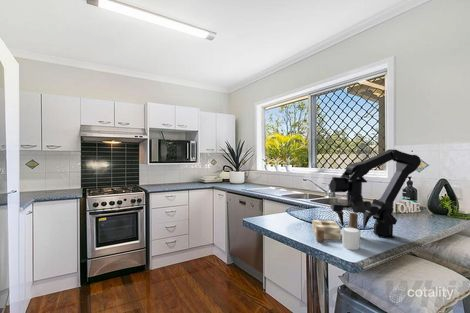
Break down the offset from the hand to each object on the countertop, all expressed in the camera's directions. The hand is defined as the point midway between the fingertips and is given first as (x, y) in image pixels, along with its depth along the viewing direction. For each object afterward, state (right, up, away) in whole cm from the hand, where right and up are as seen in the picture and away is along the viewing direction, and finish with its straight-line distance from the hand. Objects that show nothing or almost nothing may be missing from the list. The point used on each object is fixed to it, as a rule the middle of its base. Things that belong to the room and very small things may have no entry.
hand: (353, 226), depth 108 cm
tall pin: (0, -4, 0) cm, 4 cm away
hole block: (-12, -4, +1) cm, 13 cm away
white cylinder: (-7, -5, -12) cm, 15 cm away
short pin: (-17, -4, -6) cm, 19 cm away
